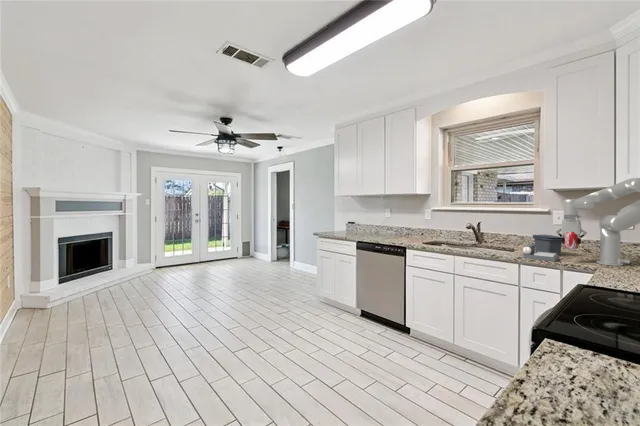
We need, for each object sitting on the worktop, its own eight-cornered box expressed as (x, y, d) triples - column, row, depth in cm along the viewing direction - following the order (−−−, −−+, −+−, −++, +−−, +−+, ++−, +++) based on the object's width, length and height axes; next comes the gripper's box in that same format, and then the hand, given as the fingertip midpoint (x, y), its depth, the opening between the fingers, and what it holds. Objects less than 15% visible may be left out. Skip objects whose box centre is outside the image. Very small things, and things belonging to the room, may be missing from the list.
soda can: (577, 249, 201) (577, 231, 201) (564, 249, 206) (563, 231, 205) (578, 248, 206) (578, 230, 206) (564, 247, 211) (564, 230, 211)
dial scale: (558, 259, 216) (558, 246, 216) (554, 261, 207) (554, 248, 207) (527, 255, 230) (527, 243, 230) (522, 258, 221) (522, 245, 220)
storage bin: (529, 252, 247) (530, 234, 246) (550, 252, 245) (550, 234, 245) (546, 256, 225) (547, 237, 225) (569, 257, 224) (569, 237, 223)
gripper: (588, 217, 201) (589, 244, 202) (555, 217, 214) (556, 242, 215) (587, 217, 196) (587, 245, 197) (553, 217, 209) (553, 243, 210)
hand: (571, 243), depth 206 cm, fingers closed on soda can, 7 cm apart
